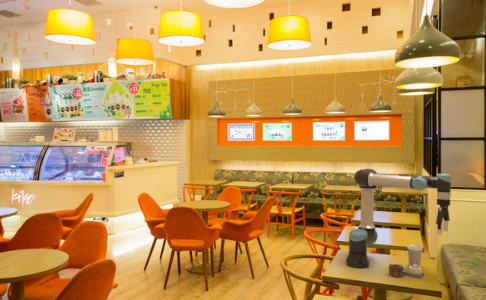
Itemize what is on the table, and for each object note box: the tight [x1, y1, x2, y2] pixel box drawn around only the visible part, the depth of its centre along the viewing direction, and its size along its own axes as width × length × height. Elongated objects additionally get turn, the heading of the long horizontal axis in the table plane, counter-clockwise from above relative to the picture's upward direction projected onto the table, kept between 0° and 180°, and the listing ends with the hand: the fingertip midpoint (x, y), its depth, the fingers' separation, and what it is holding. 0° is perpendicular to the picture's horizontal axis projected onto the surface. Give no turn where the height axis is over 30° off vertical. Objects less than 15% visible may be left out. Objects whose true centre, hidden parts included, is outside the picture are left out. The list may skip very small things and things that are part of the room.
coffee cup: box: [407, 243, 423, 268], centre depth 263 cm, size 10×10×15 cm
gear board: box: [397, 261, 425, 279], centre depth 252 cm, size 18×9×7 cm, turn 49°
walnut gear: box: [388, 263, 404, 278], centre depth 248 cm, size 8×8×6 cm
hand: (442, 232), depth 245 cm, fingers open, 13 cm apart
